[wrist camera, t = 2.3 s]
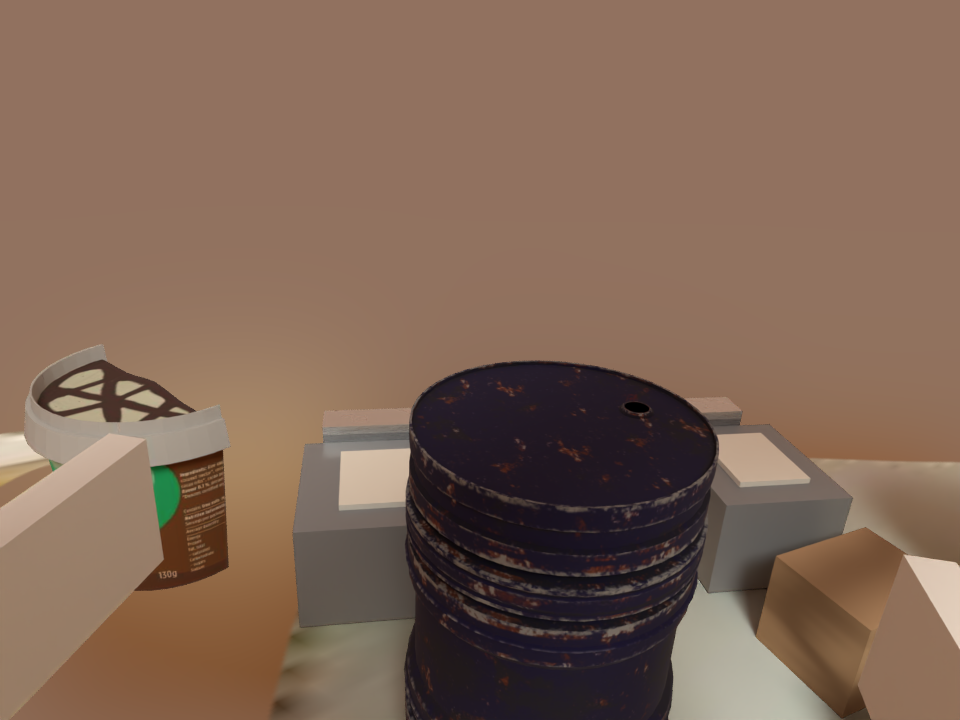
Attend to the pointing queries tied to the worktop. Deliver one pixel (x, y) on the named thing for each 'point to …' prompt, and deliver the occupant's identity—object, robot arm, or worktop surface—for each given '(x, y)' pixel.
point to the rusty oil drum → (551, 542)
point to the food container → (171, 448)
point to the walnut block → (829, 612)
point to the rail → (396, 420)
